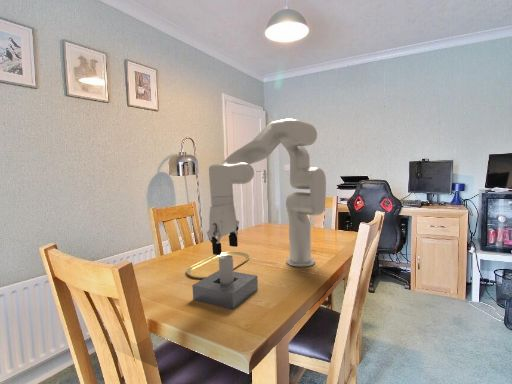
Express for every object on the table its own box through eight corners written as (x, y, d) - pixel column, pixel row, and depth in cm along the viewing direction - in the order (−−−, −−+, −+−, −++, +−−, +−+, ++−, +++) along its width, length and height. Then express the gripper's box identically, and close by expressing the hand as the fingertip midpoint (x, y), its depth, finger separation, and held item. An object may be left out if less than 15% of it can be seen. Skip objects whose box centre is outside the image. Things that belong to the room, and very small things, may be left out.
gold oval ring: (177, 276, 119) (177, 273, 119) (224, 253, 150) (224, 250, 150) (214, 283, 110) (214, 279, 110) (256, 256, 141) (256, 253, 141)
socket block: (221, 282, 110) (220, 269, 110) (257, 289, 103) (257, 275, 102) (193, 299, 96) (192, 285, 96) (233, 309, 89) (232, 293, 88)
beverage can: (234, 287, 102) (233, 254, 101) (234, 293, 97) (232, 259, 97) (220, 288, 102) (219, 255, 101) (219, 294, 97) (218, 259, 96)
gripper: (227, 197, 106) (230, 242, 108) (196, 204, 91) (200, 257, 93) (245, 197, 103) (247, 244, 104) (215, 205, 88) (219, 259, 89)
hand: (225, 250), depth 99 cm, fingers open, 9 cm apart
